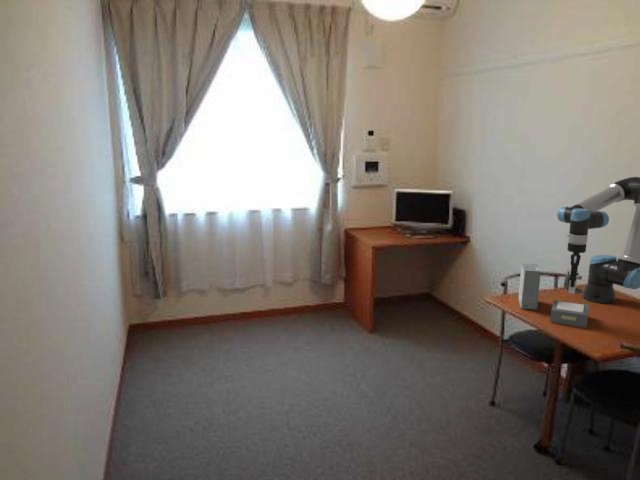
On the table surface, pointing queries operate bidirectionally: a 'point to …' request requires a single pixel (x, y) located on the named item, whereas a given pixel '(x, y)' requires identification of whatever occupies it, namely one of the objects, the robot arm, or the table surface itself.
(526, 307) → the hard drive box
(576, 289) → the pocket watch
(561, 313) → the display plinth
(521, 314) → the table surface
